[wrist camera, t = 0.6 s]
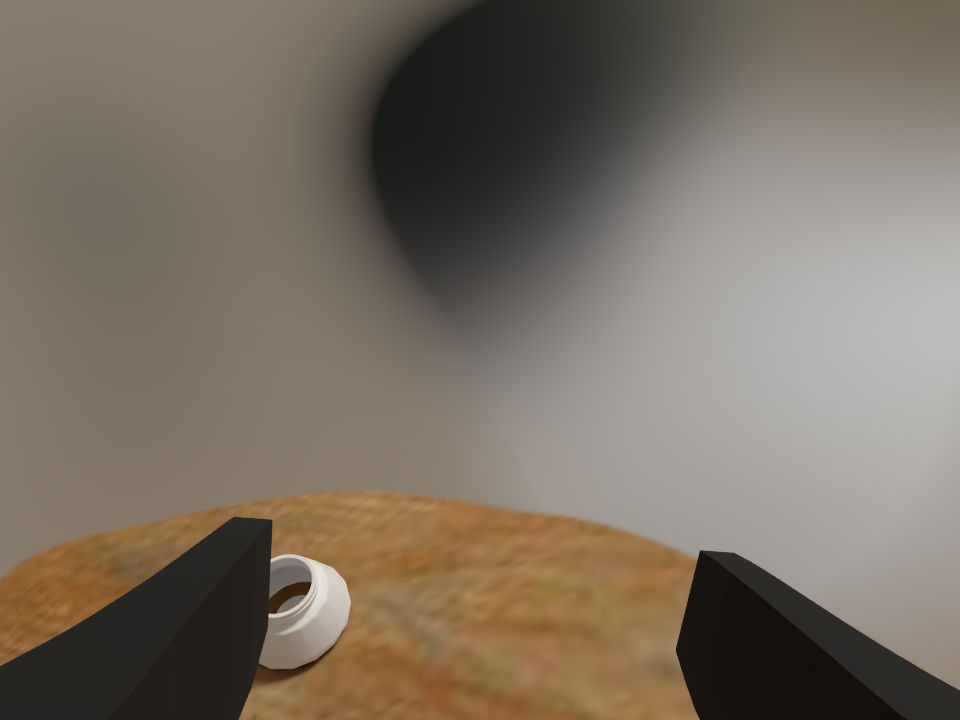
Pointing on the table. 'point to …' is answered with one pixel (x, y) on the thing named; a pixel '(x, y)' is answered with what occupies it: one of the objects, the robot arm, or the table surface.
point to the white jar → (304, 613)
